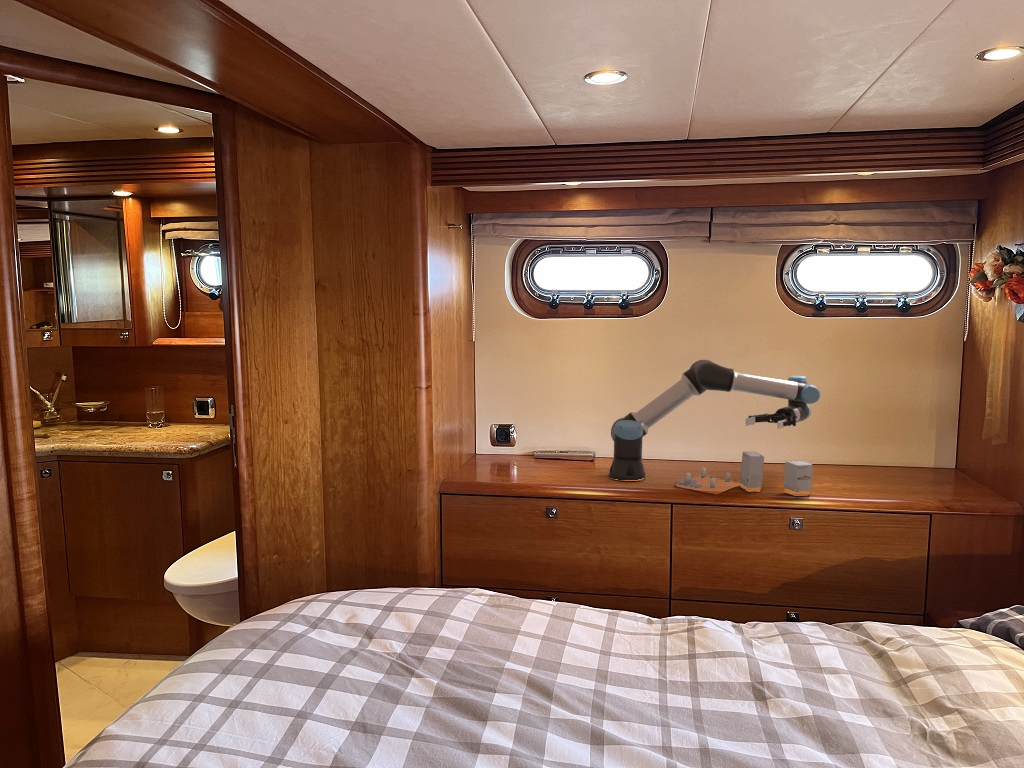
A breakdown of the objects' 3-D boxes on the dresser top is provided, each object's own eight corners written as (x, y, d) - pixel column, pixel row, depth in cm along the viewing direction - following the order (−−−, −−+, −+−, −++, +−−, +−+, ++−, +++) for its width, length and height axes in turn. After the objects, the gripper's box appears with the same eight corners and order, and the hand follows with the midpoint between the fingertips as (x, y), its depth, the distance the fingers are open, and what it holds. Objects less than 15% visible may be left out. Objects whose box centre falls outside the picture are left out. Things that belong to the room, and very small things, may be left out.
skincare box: (739, 487, 297) (740, 450, 296) (753, 487, 298) (755, 450, 296) (747, 492, 289) (749, 455, 287) (762, 492, 290) (764, 455, 288)
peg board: (674, 486, 297) (675, 473, 297) (699, 478, 312) (699, 465, 311) (716, 495, 285) (717, 481, 284) (739, 485, 300) (740, 472, 299)
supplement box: (794, 497, 283) (796, 465, 281) (782, 492, 290) (784, 461, 288) (811, 496, 285) (813, 464, 283) (799, 491, 292) (801, 460, 290)
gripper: (816, 427, 302) (792, 436, 288) (759, 422, 320) (733, 430, 305) (816, 409, 301) (792, 416, 287) (758, 405, 319) (733, 412, 305)
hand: (762, 423), depth 296 cm, fingers open, 13 cm apart
